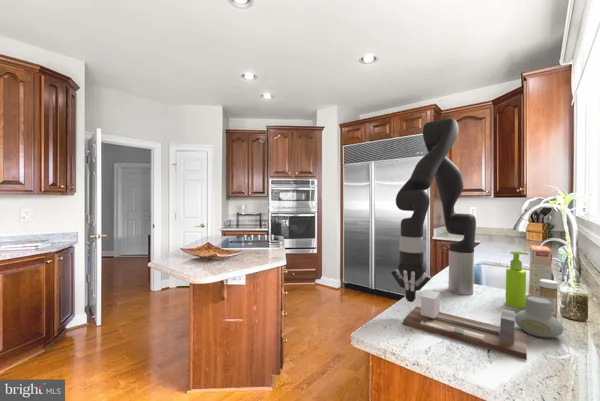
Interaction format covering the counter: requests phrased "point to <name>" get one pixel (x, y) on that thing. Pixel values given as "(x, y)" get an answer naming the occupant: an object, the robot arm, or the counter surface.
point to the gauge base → (474, 331)
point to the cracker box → (539, 268)
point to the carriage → (430, 304)
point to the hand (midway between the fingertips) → (410, 301)
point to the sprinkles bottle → (549, 293)
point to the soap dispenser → (516, 282)
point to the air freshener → (539, 319)
